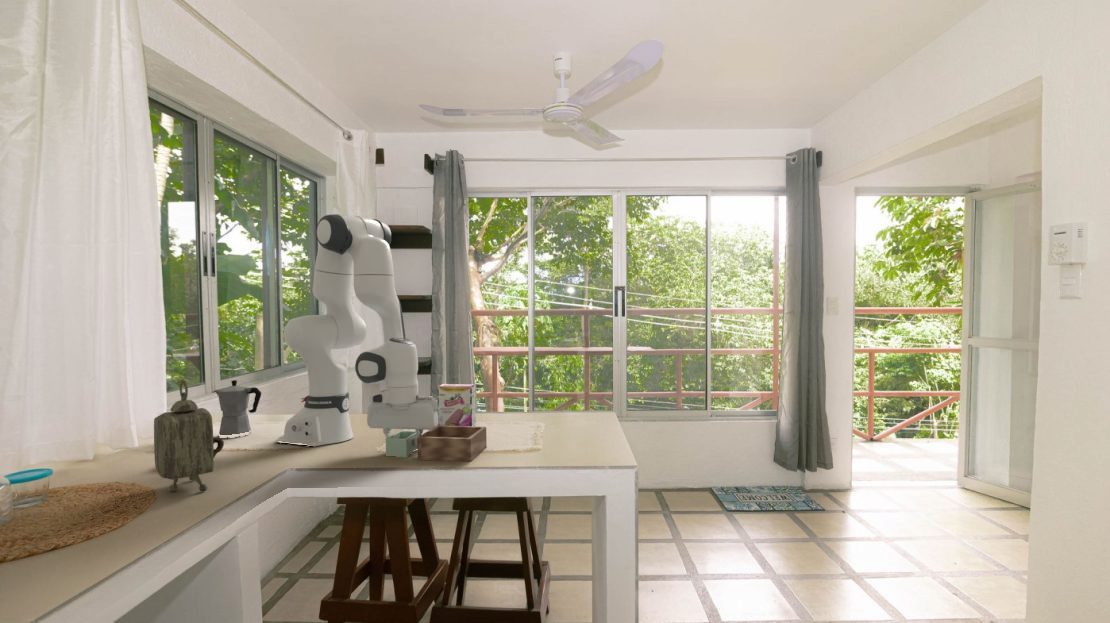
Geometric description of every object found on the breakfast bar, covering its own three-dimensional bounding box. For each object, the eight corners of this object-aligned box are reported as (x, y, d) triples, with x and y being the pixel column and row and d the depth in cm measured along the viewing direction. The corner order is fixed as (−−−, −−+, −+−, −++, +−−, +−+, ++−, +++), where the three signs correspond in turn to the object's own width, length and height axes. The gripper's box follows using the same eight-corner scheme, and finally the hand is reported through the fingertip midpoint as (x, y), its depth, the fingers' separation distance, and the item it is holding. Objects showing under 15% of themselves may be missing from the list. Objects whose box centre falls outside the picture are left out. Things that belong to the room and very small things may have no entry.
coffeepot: (205, 439, 168) (204, 382, 168) (225, 431, 177) (224, 378, 177) (252, 439, 167) (251, 382, 167) (270, 431, 177) (269, 378, 176)
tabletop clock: (214, 491, 120) (212, 381, 119) (165, 502, 113) (162, 386, 113) (200, 477, 130) (198, 375, 130) (154, 486, 124) (151, 379, 123)
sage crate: (385, 456, 146) (385, 438, 146) (400, 447, 155) (400, 430, 155) (406, 457, 145) (406, 439, 145) (420, 448, 154) (419, 431, 154)
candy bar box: (437, 438, 165) (436, 386, 165) (442, 434, 170) (441, 383, 170) (472, 439, 164) (471, 386, 164) (476, 435, 169) (475, 383, 169)
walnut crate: (417, 459, 143) (417, 437, 143) (437, 445, 157) (437, 425, 157) (471, 461, 140) (470, 439, 140) (486, 447, 154) (486, 426, 154)
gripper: (441, 394, 151) (442, 442, 151) (375, 393, 154) (375, 440, 155) (432, 398, 145) (433, 448, 145) (363, 396, 148) (364, 446, 148)
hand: (403, 444), depth 150 cm, fingers closed on sage crate, 6 cm apart
